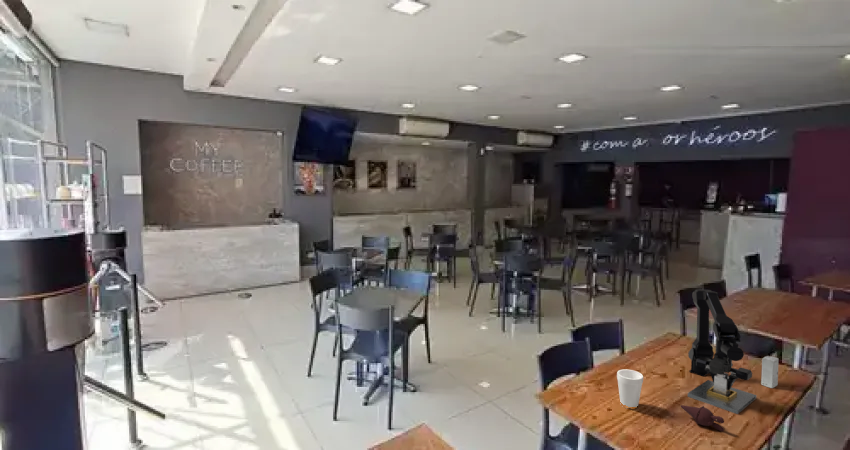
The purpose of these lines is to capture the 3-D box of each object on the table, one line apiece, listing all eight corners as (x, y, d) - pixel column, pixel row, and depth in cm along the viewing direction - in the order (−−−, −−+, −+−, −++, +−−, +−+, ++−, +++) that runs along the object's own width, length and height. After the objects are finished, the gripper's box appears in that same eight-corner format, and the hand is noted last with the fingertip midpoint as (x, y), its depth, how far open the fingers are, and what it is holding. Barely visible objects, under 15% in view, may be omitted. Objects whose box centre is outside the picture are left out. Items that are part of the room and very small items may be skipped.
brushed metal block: (713, 394, 183) (714, 372, 182) (717, 391, 185) (718, 369, 184) (725, 398, 179) (726, 376, 178) (730, 395, 182) (731, 373, 181)
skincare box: (772, 388, 189) (774, 361, 188) (760, 384, 193) (761, 358, 192) (778, 384, 193) (779, 358, 192) (765, 381, 196) (767, 355, 195)
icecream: (675, 403, 166) (719, 423, 154) (685, 393, 169) (729, 412, 157) (675, 417, 168) (718, 439, 156) (685, 407, 172) (728, 428, 159)
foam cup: (631, 413, 171) (632, 381, 170) (611, 403, 179) (612, 372, 178) (647, 407, 175) (648, 376, 174) (627, 397, 183) (627, 367, 182)
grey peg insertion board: (687, 396, 184) (687, 390, 183) (707, 383, 195) (708, 377, 195) (737, 414, 169) (737, 407, 169) (756, 398, 181) (756, 392, 181)
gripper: (690, 349, 183) (689, 385, 185) (743, 363, 168) (741, 402, 170) (702, 343, 190) (700, 378, 191) (753, 356, 175) (751, 394, 176)
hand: (722, 387), depth 182 cm, fingers closed on brushed metal block, 4 cm apart
